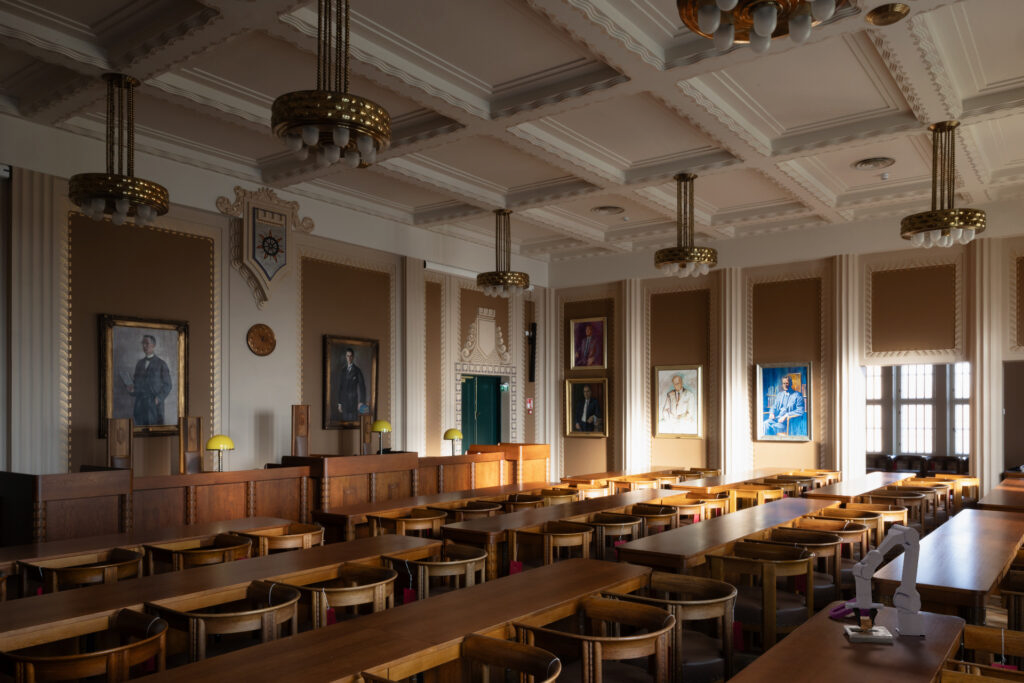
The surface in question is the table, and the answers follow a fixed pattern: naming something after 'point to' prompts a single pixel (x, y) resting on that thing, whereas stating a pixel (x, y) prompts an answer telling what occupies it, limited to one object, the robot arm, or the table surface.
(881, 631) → the keyhole plate
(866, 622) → the keyhole peg
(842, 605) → the mounting bracket
